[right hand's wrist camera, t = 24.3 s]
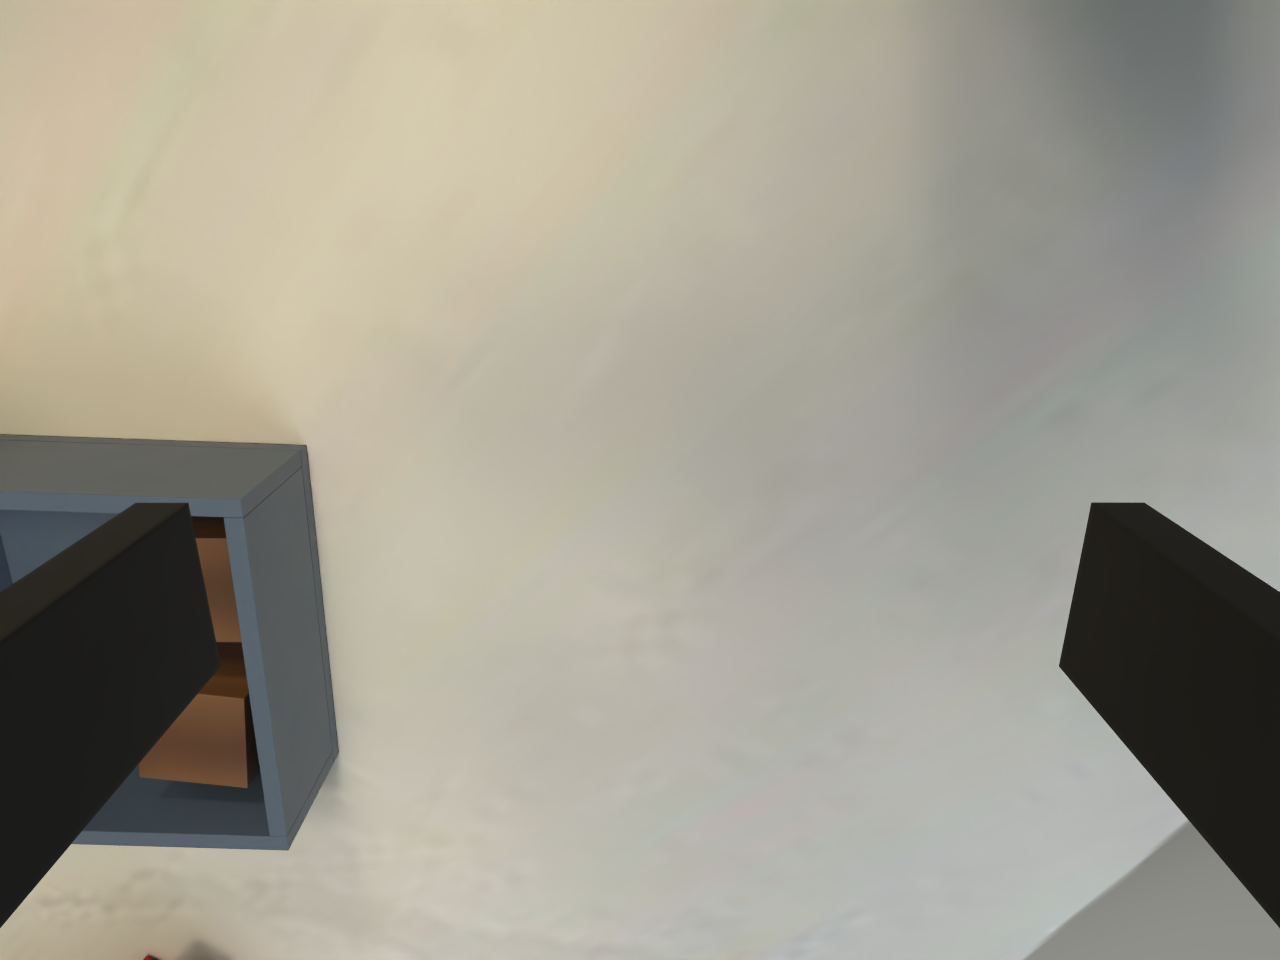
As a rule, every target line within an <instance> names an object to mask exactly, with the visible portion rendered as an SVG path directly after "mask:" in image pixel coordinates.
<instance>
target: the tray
mask: <svg viewBox="0 0 1280 960" xmlns="http://www.w3.org/2000/svg"><path fill="white" fill-rule="evenodd" d="M135 503H189V508H190V513H191V516H203V517H224V525H225V531H226V538H227V545H228V552H229V559H230V566H231V573H232V580H233V587H234V593H235V600H236V607H237V614H238V621H239V628H240V635H241V642H242V648H243V655H244V662H245V669H246V676H247V683H248V690H249V697H250V704H251V710H252V717H253V724H254V731H255V738H256V745H257V752H258V759H259V766H260V769H259V771H258V772H257V774H256V775H255V777H254V779H253V780H252V782H251V783H250V785H249V787H248V788H240V787H230V786H221V785H211V784H201V783H192V782H182V781H172V780H163V779H153V778H143V777H139V766H138V765H137V766H136V768H135V769H134V770H133V771H132V772H131V774H130V775H129V776H128V777H127V778H126V779H125V781H124V782H123V783H122V784H121V785H120V787H119V788H118V789H117V790H116V791H115V793H114V794H113V795H112V796H111V797H110V798H109V800H108V801H107V802H106V803H105V804H104V806H103V807H102V808H101V809H100V810H99V811H98V813H97V814H96V815H95V816H94V817H93V819H92V820H91V821H90V822H89V823H88V825H87V826H86V827H85V828H84V829H83V830H82V832H81V833H80V834H79V835H78V836H77V838H76V839H75V840H74V841H73V842H72V843H71V844H91V845H125V846H159V847H193V848H227V849H261V850H289V848H290V846H291V844H292V842H293V840H294V838H295V836H296V834H297V833H298V831H299V829H300V827H301V825H302V823H303V821H304V819H305V817H306V815H307V813H308V811H309V809H310V807H311V805H312V803H313V802H314V800H315V798H316V796H317V794H318V792H319V790H320V788H321V786H322V784H323V782H324V780H325V778H326V776H327V774H328V772H329V771H330V769H331V767H332V765H333V762H334V761H335V759H336V757H337V755H338V744H337V734H336V724H335V715H334V705H333V696H332V686H331V677H330V667H329V658H328V648H327V639H326V629H325V620H324V610H323V601H322V591H321V582H320V572H319V563H318V553H317V544H316V534H315V525H314V515H313V506H312V496H311V486H310V477H309V467H308V458H307V448H306V445H283V444H255V443H227V442H198V441H170V440H142V439H113V438H85V437H57V436H28V435H0V592H1V591H3V590H4V589H6V588H7V587H9V586H10V585H12V584H13V583H15V582H16V581H18V580H20V579H21V578H23V577H24V576H26V575H27V574H29V573H30V572H32V571H33V570H35V569H36V568H38V567H39V566H41V565H42V564H44V563H45V562H47V561H48V560H50V559H51V558H53V557H54V556H56V555H57V554H59V553H60V552H62V551H63V550H65V549H66V548H68V547H69V546H71V545H72V544H74V543H76V542H77V541H79V540H80V539H82V538H83V537H85V536H86V535H88V534H89V533H91V532H92V531H94V530H95V529H97V528H98V527H100V526H101V525H103V524H104V523H106V522H107V521H109V520H110V519H112V518H113V517H115V516H116V515H118V514H119V513H121V512H122V511H124V510H125V509H127V508H128V507H130V506H132V505H133V504H135Z"/></svg>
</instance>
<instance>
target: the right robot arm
mask: <svg viewBox="0 0 1280 960" xmlns="http://www.w3.org/2000/svg"><path fill="white" fill-rule="evenodd" d="M220 667H221V664H220V659H219V654H218V649H217V644H216V639H215V634H214V629H213V624H212V619H211V614H210V609H209V604H208V599H207V593H206V588H205V583H204V578H203V573H202V568H201V563H200V558H199V553H198V548H197V543H196V538H195V533H194V528H193V523H192V518H191V513H190V508H189V503H135V504H133V505H132V506H130V507H128V508H127V509H125V510H124V511H122V512H121V513H119V514H118V515H116V516H115V517H113V518H112V519H110V520H109V521H107V522H106V523H104V524H103V525H101V526H100V527H98V528H97V529H95V530H94V531H92V532H91V533H89V534H88V535H86V536H85V537H83V538H82V539H80V540H79V541H77V542H76V543H74V544H72V545H71V546H69V547H68V548H66V549H65V550H63V551H62V552H60V553H59V554H57V555H56V556H54V557H53V558H51V559H50V560H48V561H47V562H45V563H44V564H42V565H41V566H39V567H38V568H36V569H35V570H33V571H32V572H30V573H29V574H27V575H26V576H24V577H23V578H21V579H20V580H18V581H16V582H15V583H13V584H12V585H10V586H9V587H7V588H6V589H4V590H3V591H1V592H0V928H1V926H2V925H3V924H4V923H5V922H6V921H7V919H8V918H9V917H10V916H11V915H12V913H13V912H14V911H15V910H16V909H17V907H18V906H19V905H20V904H21V903H22V902H23V900H24V899H25V898H26V897H27V896H28V894H29V893H30V892H31V891H32V890H33V889H34V887H35V886H36V885H37V884H38V883H39V881H40V880H41V879H42V878H43V877H44V875H45V874H46V873H47V872H48V871H49V870H50V868H51V867H52V866H53V865H54V864H55V862H56V861H57V860H58V859H59V858H60V857H61V855H62V854H63V853H64V852H65V851H66V849H67V848H68V847H69V846H70V845H71V843H72V842H73V841H74V840H75V839H76V838H77V836H78V835H79V834H80V833H81V832H82V830H83V829H84V828H85V827H86V826H87V825H88V823H89V822H90V821H91V820H92V819H93V817H94V816H95V815H96V814H97V813H98V811H99V810H100V809H101V808H102V807H103V806H104V804H105V803H106V802H107V801H108V800H109V798H110V797H111V796H112V795H113V794H114V793H115V791H116V790H117V789H118V788H119V787H120V785H121V784H122V783H123V782H124V781H125V779H126V778H127V777H128V776H129V775H130V774H131V772H132V771H133V770H134V769H135V768H136V766H137V765H138V764H139V763H140V762H141V760H142V759H143V758H144V757H145V756H146V755H147V753H148V752H149V751H150V750H151V749H152V747H153V746H154V745H155V744H156V743H157V742H158V740H159V739H160V738H161V737H162V736H163V734H164V733H165V732H166V731H167V730H168V728H169V727H170V726H171V725H172V724H173V723H174V721H175V720H176V719H177V718H178V717H179V715H180V714H181V713H182V712H183V711H184V710H185V708H186V707H187V706H188V705H189V704H190V702H191V701H192V700H193V699H194V698H195V696H196V695H197V694H198V693H199V692H200V691H201V689H202V688H203V687H204V686H205V685H206V683H207V682H208V681H209V680H210V679H211V678H212V676H213V675H214V674H215V673H216V672H217V670H218V669H219V668H220ZM1059 667H1060V668H1061V669H1062V670H1063V672H1064V673H1065V674H1066V675H1067V676H1068V678H1069V679H1070V680H1071V681H1072V682H1073V683H1074V685H1075V686H1076V687H1077V688H1078V689H1079V691H1080V692H1081V693H1082V694H1083V695H1084V696H1085V698H1086V699H1087V700H1088V701H1089V702H1090V704H1091V705H1092V706H1093V707H1094V708H1095V710H1096V711H1097V712H1098V713H1099V714H1100V715H1101V717H1102V718H1103V719H1104V720H1105V721H1106V723H1107V724H1108V725H1109V726H1110V727H1111V728H1112V730H1113V731H1114V732H1115V733H1116V734H1117V736H1118V737H1119V738H1120V739H1121V740H1122V742H1123V743H1124V744H1125V745H1126V746H1127V747H1128V749H1129V750H1130V751H1131V752H1132V753H1133V755H1134V756H1135V757H1136V758H1137V759H1138V760H1139V762H1140V763H1141V764H1142V765H1143V766H1144V768H1145V769H1146V770H1147V771H1148V772H1149V774H1150V775H1151V776H1152V777H1153V778H1154V779H1155V781H1156V782H1157V783H1158V784H1159V785H1160V787H1161V788H1162V789H1163V790H1164V791H1165V793H1166V794H1167V795H1168V796H1169V797H1170V798H1171V800H1172V801H1173V802H1174V803H1175V804H1176V806H1177V807H1178V808H1179V809H1180V810H1181V811H1182V813H1183V814H1184V815H1185V816H1186V817H1187V819H1188V820H1189V821H1190V822H1191V823H1192V825H1193V826H1194V827H1195V828H1196V829H1197V830H1198V832H1199V833H1200V834H1201V835H1202V836H1203V838H1204V839H1205V840H1206V841H1207V842H1208V843H1209V845H1210V846H1211V847H1212V848H1213V849H1214V851H1215V852H1216V853H1217V854H1218V855H1219V857H1220V858H1221V859H1222V860H1223V861H1224V862H1225V864H1226V865H1227V866H1228V867H1229V868H1230V870H1231V871H1232V872H1233V873H1234V874H1235V875H1236V877H1237V878H1238V879H1239V880H1240V881H1241V883H1242V884H1243V885H1244V886H1245V887H1246V889H1247V890H1248V891H1249V892H1250V893H1251V894H1252V896H1253V897H1254V898H1255V899H1256V900H1257V901H1258V903H1259V904H1260V905H1261V906H1262V907H1263V909H1264V910H1265V911H1266V912H1267V913H1268V915H1269V916H1270V917H1271V918H1272V919H1273V921H1274V922H1275V923H1276V924H1277V925H1278V926H1279V928H1280V592H1279V591H1277V590H1276V589H1274V588H1273V587H1271V586H1270V585H1268V584H1267V583H1265V582H1264V581H1262V580H1260V579H1259V578H1257V577H1256V576H1254V575H1253V574H1251V573H1250V572H1248V571H1247V570H1245V569H1244V568H1242V567H1241V566H1239V565H1238V564H1236V563H1235V562H1233V561H1232V560H1230V559H1229V558H1227V557H1226V556H1224V555H1223V554H1221V553H1220V552H1218V551H1217V550H1215V549H1214V548H1212V547H1211V546H1209V545H1208V544H1206V543H1204V542H1203V541H1201V540H1200V539H1198V538H1197V537H1195V536H1194V535H1192V534H1191V533H1189V532H1188V531H1186V530H1185V529H1183V528H1182V527H1180V526H1179V525H1177V524H1176V523H1174V522H1173V521H1171V520H1170V519H1168V518H1167V517H1165V516H1164V515H1162V514H1161V513H1159V512H1158V511H1156V510H1155V509H1153V508H1152V507H1150V506H1148V505H1147V504H1145V503H1091V508H1090V513H1089V518H1088V523H1087V528H1086V533H1085V538H1084V543H1083V548H1082V553H1081V558H1080V563H1079V568H1078V573H1077V578H1076V583H1075V588H1074V593H1073V599H1072V604H1071V609H1070V614H1069V619H1068V624H1067V629H1066V634H1065V639H1064V644H1063V649H1062V654H1061V659H1060V664H1059Z"/></svg>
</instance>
